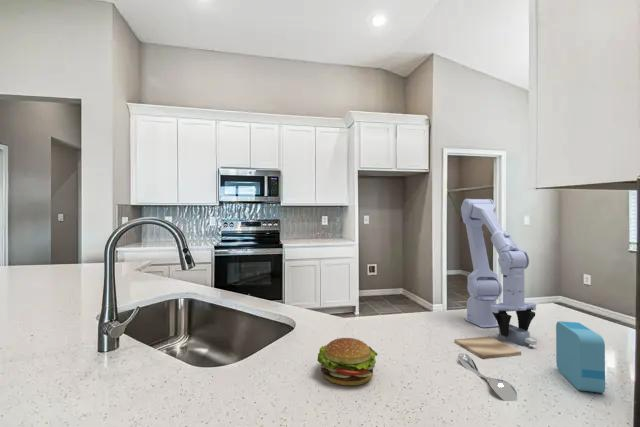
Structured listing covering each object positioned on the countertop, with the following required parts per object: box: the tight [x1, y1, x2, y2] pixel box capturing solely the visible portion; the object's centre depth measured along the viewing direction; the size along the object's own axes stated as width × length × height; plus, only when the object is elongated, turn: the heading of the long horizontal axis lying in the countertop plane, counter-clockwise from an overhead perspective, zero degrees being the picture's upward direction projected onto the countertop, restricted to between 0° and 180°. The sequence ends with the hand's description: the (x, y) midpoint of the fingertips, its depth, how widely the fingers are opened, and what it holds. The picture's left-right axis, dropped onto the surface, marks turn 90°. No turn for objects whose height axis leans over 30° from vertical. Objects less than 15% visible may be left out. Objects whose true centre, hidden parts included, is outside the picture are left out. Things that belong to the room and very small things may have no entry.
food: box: [316, 337, 378, 386], centre depth 79 cm, size 14×14×8 cm
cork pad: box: [453, 336, 522, 360], centre depth 94 cm, size 12×12×1 cm
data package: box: [555, 320, 606, 394], centre depth 75 cm, size 12×4×12 cm, turn 165°
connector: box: [498, 323, 537, 347], centre depth 100 cm, size 12×4×4 cm, turn 13°
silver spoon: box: [457, 352, 518, 402], centre depth 77 cm, size 20×4×5 cm
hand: (513, 334), depth 101 cm, fingers open, 6 cm apart
